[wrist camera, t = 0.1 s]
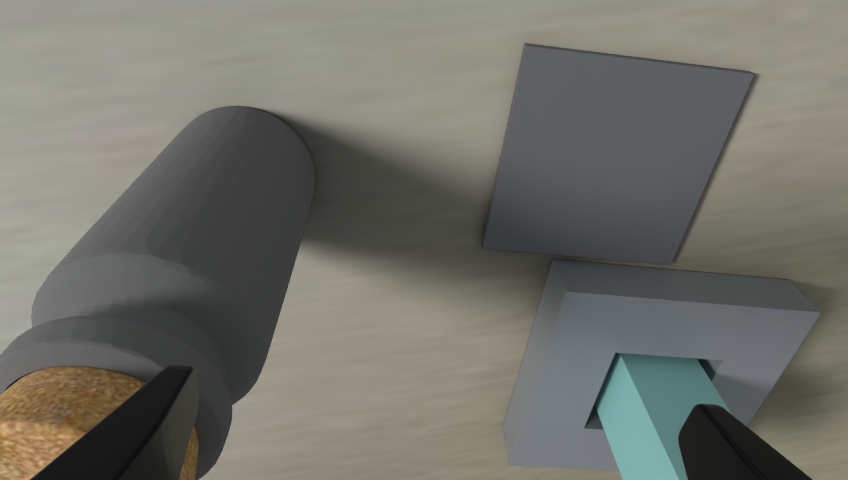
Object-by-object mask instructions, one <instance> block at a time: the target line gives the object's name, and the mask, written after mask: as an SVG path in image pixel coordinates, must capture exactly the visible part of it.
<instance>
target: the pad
mask: <svg viewBox="0 0 848 480" xmlns="http://www.w3.org/2000/svg"><path fill="white" fill-rule="evenodd" d="M753 76H754V74H753V73H751V72H749V71H743V70H735V69H727V68H719V67H711V66H703V65H695V64H687V63H679V62H671V61H663V60H655V59H647V58H639V57H631V56H623V55H615V54H606V53H598V52H590V51H582V50H574V49H566V48H558V47H550V46H542V45H534V44H526V43H525V44H524V49H523V54H522V58H521V63H520V68H519V72H518V77H517V82H516V86H515V91H514V96H513V100H512V105H511V110H510V114H509V119H508V124H507V128H506V133H505V138H504V142H503V147H502V152H501V156H500V161H499V166H498V170H497V175H496V180H495V184H494V189H493V194H492V198H491V203H490V208H489V212H488V217H487V222H486V226H485V231H484V236H483V240H482V247H483V249H493V250H505V251H516V252H527V253H539V254H550V255H561V256H573V257H584V258H595V259H606V260H618V261H629V262H640V263H652V264H663V265H671V263H672V261H673V258H674V256H675V254H676V252H677V249H678V247H679V245H680V242H681V240H682V238H683V236H684V233H685V231H686V229H687V227H688V224H689V222H690V220H691V217H692V215H693V213H694V211H695V208H696V206H697V204H698V201H699V199H700V197H701V195H702V192H703V190H704V188H705V186H706V183H707V181H708V179H709V176H710V174H711V172H712V170H713V167H714V165H715V163H716V160H717V158H718V156H719V154H720V151H721V149H722V147H723V145H724V142H725V140H726V138H727V135H728V133H729V131H730V129H731V126H732V124H733V122H734V120H735V117H736V115H737V113H738V110H739V108H740V106H741V104H742V101H743V99H744V97H745V94H746V92H747V90H748V88H749V85H750V83H751V81H752V79H753Z"/></svg>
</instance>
